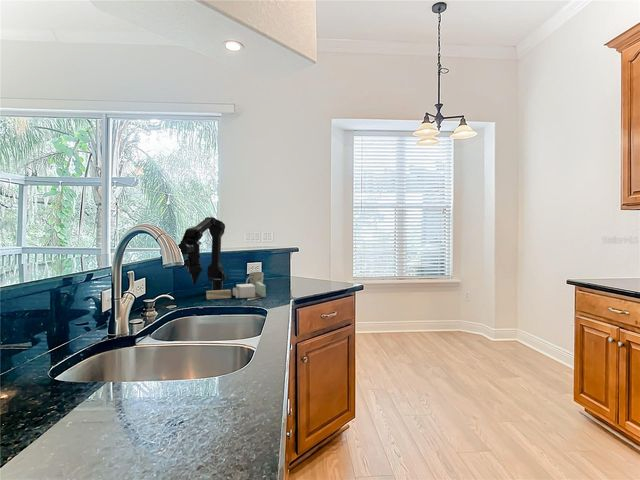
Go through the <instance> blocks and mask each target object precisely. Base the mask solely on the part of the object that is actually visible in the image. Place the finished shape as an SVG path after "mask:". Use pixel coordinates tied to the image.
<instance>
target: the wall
mask: <svg viewBox="0 0 640 480" xmlns="http://www.w3.org/2000/svg"><path fill="white" fill-rule="evenodd" d="M266 292H267V291H266V284H264V283H263V284H262V283H260V282H256V291H255V294H257V295H259V297H261V298H266V294H267V293H266Z"/></svg>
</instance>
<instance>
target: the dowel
mask: <svg viewBox="0 0 640 480" xmlns="http://www.w3.org/2000/svg"><path fill="white" fill-rule="evenodd" d="M205 296H206V300H217V299H218V300H219V299H221V300H222V299H232V290H231V289H223V290H215V291H211V290H206V292H205Z"/></svg>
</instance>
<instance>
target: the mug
mask: <svg viewBox="0 0 640 480" xmlns="http://www.w3.org/2000/svg"><path fill="white" fill-rule="evenodd" d="M248 282H250V283H248ZM256 282H260V283H262V284H264V272H262V271H251V272H249V274H248V277H247V278H246V280H245V284H253V285H254V286H255V292H256Z"/></svg>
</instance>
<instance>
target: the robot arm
mask: <svg viewBox="0 0 640 480" xmlns="http://www.w3.org/2000/svg"><path fill="white" fill-rule="evenodd" d="M225 229H226V225H225V223H224V221H222V220H219V219H217V218H215V217H213V216H210V217H209V216H208V217H205V218H204V219H203V220H202V221H201V222H199V223H198V224H197V225H196V226H192V227H189V228H186V229H185V232H184V234H183V236H182V239H181V240H180V243H179V244H178V245H177V246H179V248H180V249H181V252H182V254H183V255H182V256H185V255H186V258H184V259H183V260H184V262H185V264H184V266H181V267H177V270H179V269H180V270H181V269H182V268H185V267H186V270H187V272H188V273H189V275H190V276H191V281H192V285H196V284H197V282H198V280H199V277H200V274H201V272H203V267H202V266H201V259H200V258H201V255H200V254H201V252H200V250H201V249H200V245H201V244H202V242H201V241H200V240H201V238H203V237H204V232H206V231H207V230H209V234H210V237H211V240H212V241H211V260H210V262H211V263H210V264H209V265H208V266H207V272H206V273H207V280H208V281H209V282H211V285H212V286H211V290H210V291H215V290H224V289H223V288H224V286H223V282H225V281H226V280H227V275H226V273H225V271H224V267H223V265H222V263H221V256H222V255H221V254H222V253H221V251H222V250H221V248H222V237H223V235H224V234H225Z"/></svg>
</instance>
